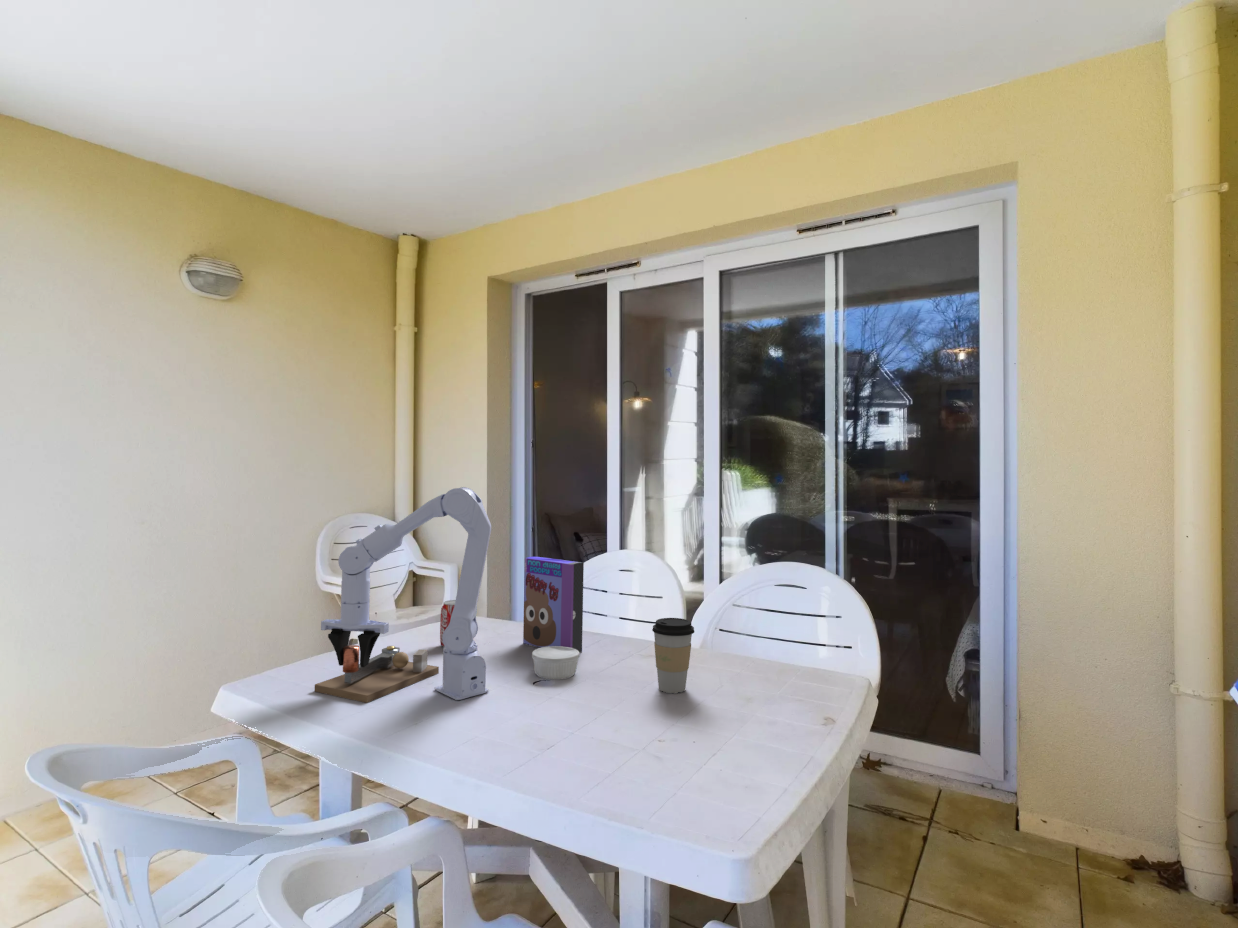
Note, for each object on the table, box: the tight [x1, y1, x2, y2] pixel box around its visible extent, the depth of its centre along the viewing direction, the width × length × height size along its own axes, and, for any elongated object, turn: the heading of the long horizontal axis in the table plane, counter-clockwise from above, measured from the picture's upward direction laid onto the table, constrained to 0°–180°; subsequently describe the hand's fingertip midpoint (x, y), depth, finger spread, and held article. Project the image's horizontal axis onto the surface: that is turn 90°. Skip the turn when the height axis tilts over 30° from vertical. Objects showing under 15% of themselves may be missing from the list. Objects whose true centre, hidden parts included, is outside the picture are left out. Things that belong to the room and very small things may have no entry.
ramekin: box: [531, 646, 580, 681], centre depth 153 cm, size 11×11×5 cm
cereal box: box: [522, 556, 585, 654], centre depth 176 cm, size 17×5×24 cm, turn 53°
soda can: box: [439, 599, 456, 648], centre depth 175 cm, size 7×7×12 cm
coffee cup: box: [651, 617, 695, 694], centre depth 144 cm, size 9×9×15 cm
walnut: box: [392, 651, 410, 668], centre depth 150 cm, size 4×4×4 cm
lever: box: [342, 644, 401, 684], centre depth 146 cm, size 20×4×8 cm, turn 169°
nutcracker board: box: [314, 649, 440, 704], centre depth 145 cm, size 22×15×6 cm
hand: (353, 664), depth 138 cm, fingers open, 4 cm apart
